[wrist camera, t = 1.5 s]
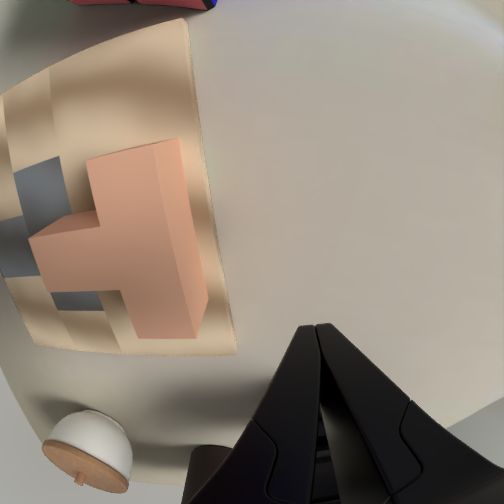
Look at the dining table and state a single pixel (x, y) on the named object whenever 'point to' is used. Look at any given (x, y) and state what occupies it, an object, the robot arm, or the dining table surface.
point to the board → (79, 190)
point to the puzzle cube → (155, 2)
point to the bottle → (202, 468)
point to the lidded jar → (91, 450)
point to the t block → (132, 242)
